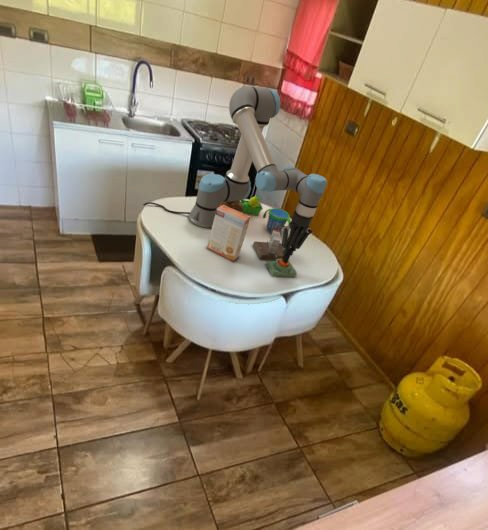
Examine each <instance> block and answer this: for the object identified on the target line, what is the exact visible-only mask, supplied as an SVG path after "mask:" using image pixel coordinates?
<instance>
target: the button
mask: <svg viewBox="0 0 488 530" xmlns="http://www.w3.org/2000/svg"><path fill="white" fill-rule="evenodd" d="M289 262H290V261H289V260H288V263H284V261H283V260H282V258H281V259H279V262H278V264H279V265H281V266H283V267H288V265H289Z"/></svg>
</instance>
